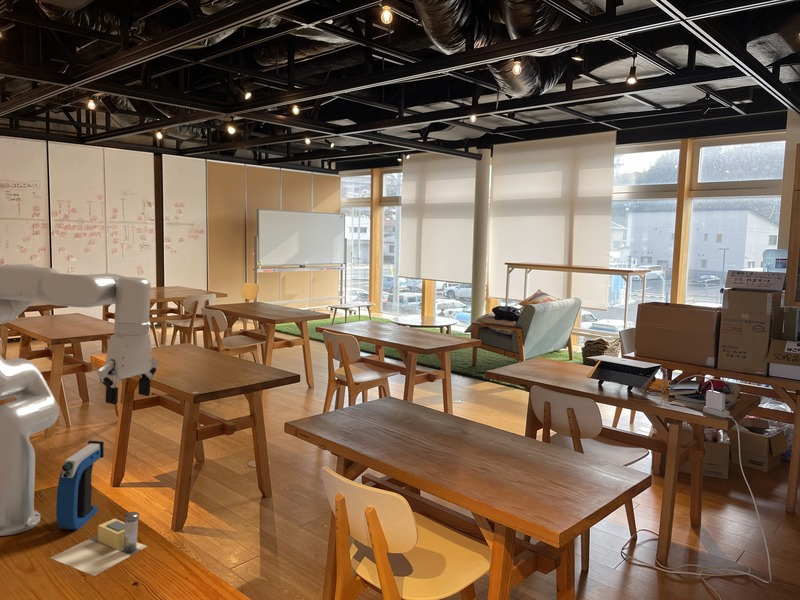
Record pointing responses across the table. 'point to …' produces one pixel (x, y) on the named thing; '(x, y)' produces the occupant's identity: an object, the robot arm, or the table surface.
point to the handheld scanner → (77, 487)
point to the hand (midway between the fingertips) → (128, 398)
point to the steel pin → (131, 532)
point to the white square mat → (93, 556)
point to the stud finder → (112, 533)
